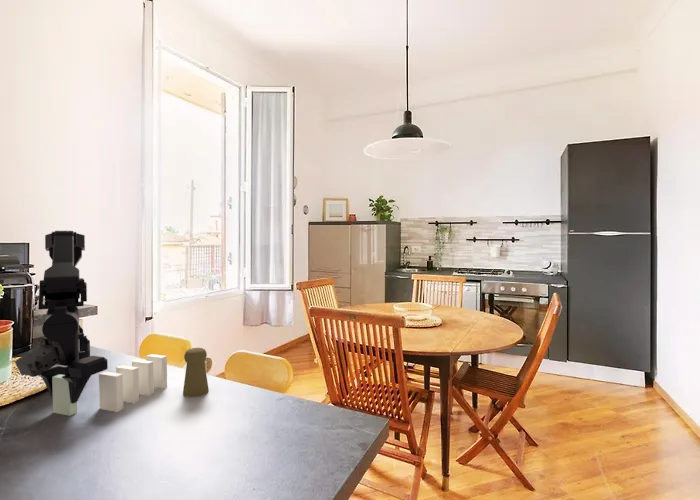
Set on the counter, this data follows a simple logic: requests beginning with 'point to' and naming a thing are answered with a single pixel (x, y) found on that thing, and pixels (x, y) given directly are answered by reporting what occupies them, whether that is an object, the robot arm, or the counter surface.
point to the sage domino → (62, 397)
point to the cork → (195, 373)
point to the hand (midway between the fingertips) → (64, 401)
